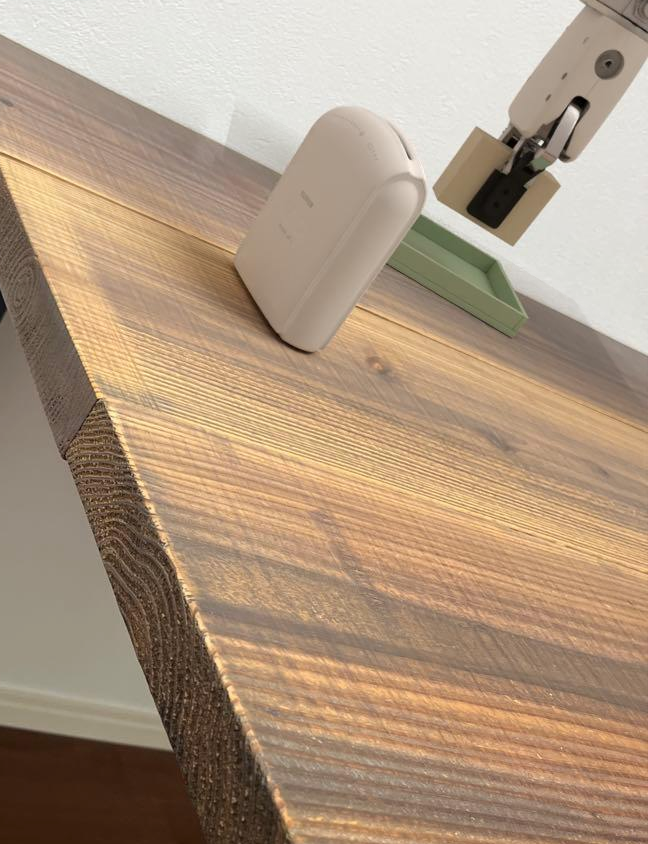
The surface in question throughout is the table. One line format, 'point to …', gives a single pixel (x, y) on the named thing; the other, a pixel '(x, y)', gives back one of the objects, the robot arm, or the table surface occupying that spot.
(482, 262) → the tray
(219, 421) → the table surface
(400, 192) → the photo printer
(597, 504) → the table surface
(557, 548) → the table surface
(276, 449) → the table surface
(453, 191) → the block
